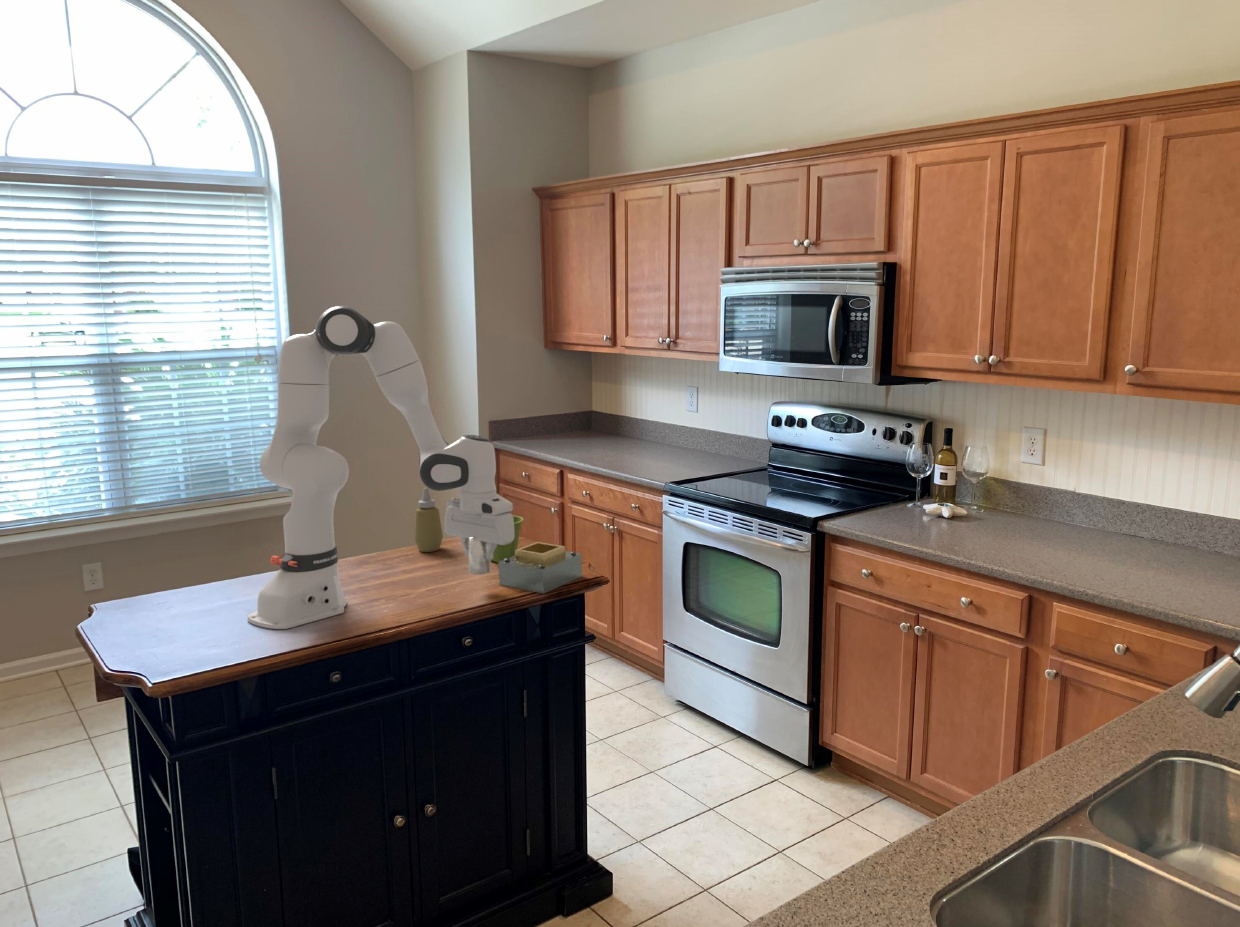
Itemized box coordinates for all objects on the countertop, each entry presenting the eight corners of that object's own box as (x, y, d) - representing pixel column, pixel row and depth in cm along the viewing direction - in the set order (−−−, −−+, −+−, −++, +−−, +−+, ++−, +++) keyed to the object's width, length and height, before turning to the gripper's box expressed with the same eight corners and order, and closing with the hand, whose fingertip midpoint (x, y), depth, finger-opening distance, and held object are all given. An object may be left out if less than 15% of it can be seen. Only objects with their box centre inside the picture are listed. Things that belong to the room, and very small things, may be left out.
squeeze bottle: (415, 554, 267) (412, 492, 264) (414, 547, 275) (410, 486, 272) (444, 552, 269) (441, 490, 266) (442, 544, 277) (438, 484, 274)
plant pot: (531, 561, 258) (529, 521, 256) (489, 568, 253) (487, 527, 251) (516, 551, 269) (514, 512, 267) (475, 557, 264) (473, 517, 262)
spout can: (479, 575, 230) (479, 531, 228) (464, 572, 232) (463, 528, 231) (493, 571, 234) (493, 527, 232) (478, 567, 236) (478, 524, 235)
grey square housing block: (543, 593, 231) (542, 559, 229) (499, 584, 239) (498, 552, 237) (582, 576, 244) (581, 544, 243) (539, 568, 252) (537, 537, 250)
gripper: (437, 498, 234) (439, 553, 236) (500, 508, 222) (501, 566, 224) (456, 494, 239) (457, 548, 241) (518, 504, 227) (518, 560, 229)
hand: (479, 557), depth 232 cm, fingers closed on spout can, 5 cm apart
